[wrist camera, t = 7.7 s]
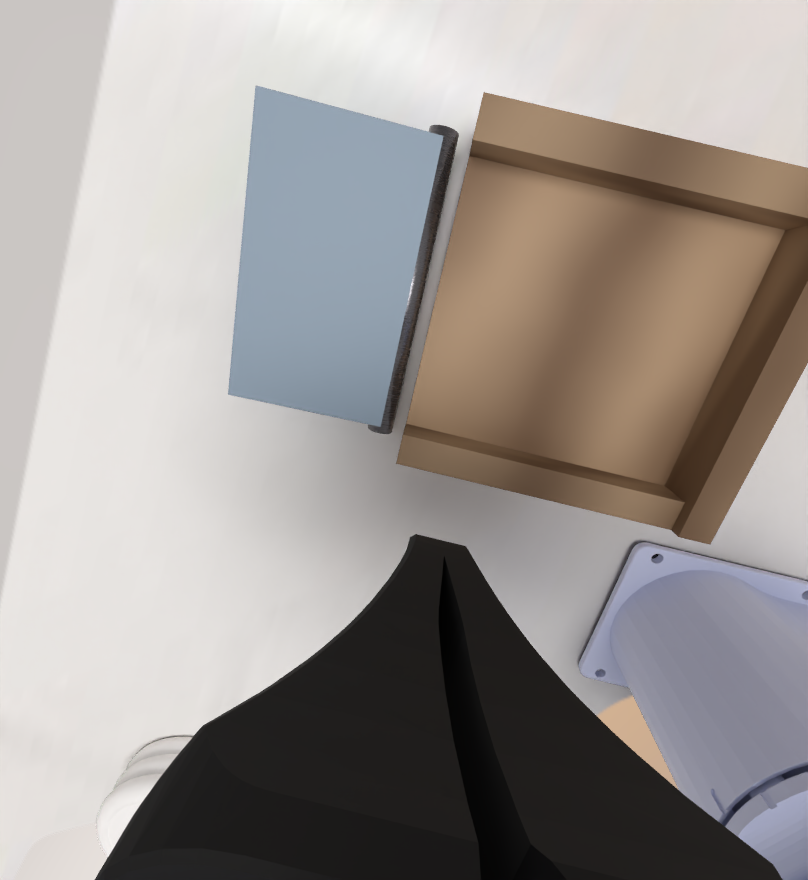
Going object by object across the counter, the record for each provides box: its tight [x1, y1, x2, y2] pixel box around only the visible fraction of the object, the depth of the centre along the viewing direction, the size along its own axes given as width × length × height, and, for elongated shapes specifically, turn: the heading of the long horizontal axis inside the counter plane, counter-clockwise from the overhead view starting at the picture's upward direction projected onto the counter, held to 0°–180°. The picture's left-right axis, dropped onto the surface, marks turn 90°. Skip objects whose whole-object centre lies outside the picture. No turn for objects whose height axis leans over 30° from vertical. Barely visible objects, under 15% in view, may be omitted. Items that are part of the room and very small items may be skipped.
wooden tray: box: [396, 92, 808, 544], centre depth 15 cm, size 12×12×4 cm
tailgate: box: [228, 86, 459, 434], centre depth 15 cm, size 1×11×6 cm
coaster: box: [96, 737, 192, 858], centre depth 26 cm, size 10×10×4 cm
